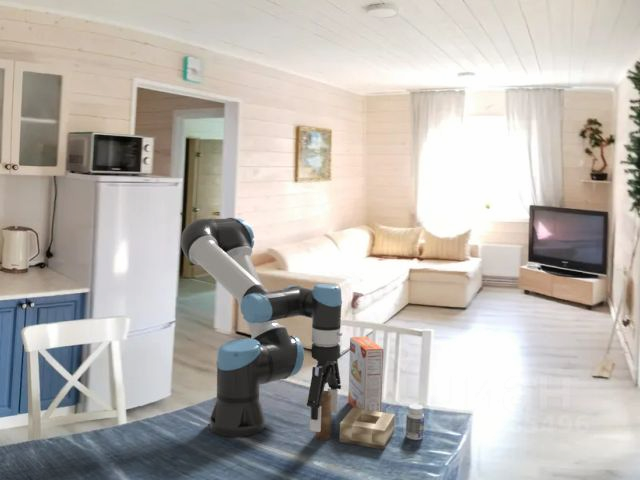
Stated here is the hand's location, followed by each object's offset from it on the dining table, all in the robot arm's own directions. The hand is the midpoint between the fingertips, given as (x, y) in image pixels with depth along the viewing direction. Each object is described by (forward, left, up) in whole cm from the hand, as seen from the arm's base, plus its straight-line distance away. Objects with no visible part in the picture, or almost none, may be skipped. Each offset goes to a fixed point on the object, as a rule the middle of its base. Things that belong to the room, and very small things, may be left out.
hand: (323, 421), depth 159 cm
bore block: (+11, +5, -4) cm, 13 cm away
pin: (0, 0, -4) cm, 4 cm away
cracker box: (+5, +23, -5) cm, 24 cm away
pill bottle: (+23, +10, -5) cm, 25 cm away
